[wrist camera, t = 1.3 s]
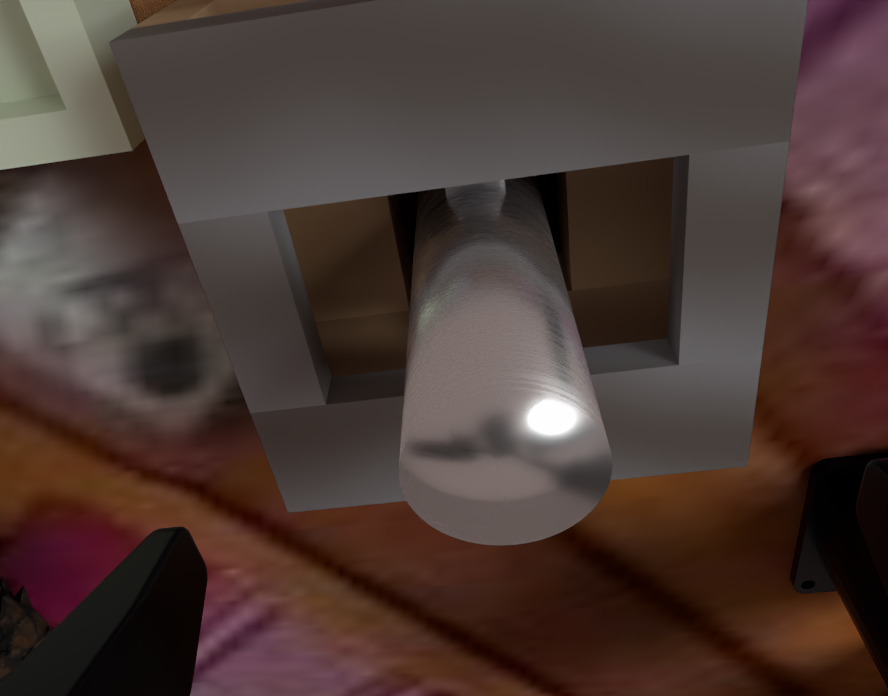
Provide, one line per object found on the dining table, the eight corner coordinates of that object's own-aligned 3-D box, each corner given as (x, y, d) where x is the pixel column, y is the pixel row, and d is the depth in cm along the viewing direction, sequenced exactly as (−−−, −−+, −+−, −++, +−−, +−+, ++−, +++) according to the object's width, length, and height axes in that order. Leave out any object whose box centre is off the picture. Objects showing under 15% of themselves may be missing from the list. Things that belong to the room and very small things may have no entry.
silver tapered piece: (544, 292, 20) (614, 604, 12) (437, 306, 20) (433, 620, 12) (527, 51, 17) (609, 261, 8) (396, 70, 17) (352, 293, 9)
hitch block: (688, 344, 21) (747, 466, 17) (317, 386, 22) (288, 512, 18) (714, -95, 15) (816, -69, 11) (194, -11, 16) (108, 42, 12)
